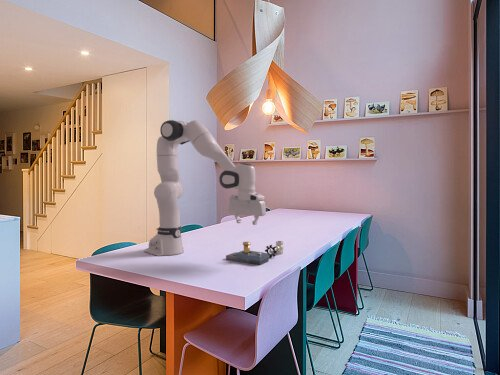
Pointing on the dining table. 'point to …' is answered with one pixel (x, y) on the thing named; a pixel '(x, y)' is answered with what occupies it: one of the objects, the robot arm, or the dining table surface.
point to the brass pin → (246, 247)
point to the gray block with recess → (249, 257)
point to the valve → (275, 249)
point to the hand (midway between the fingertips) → (246, 223)
